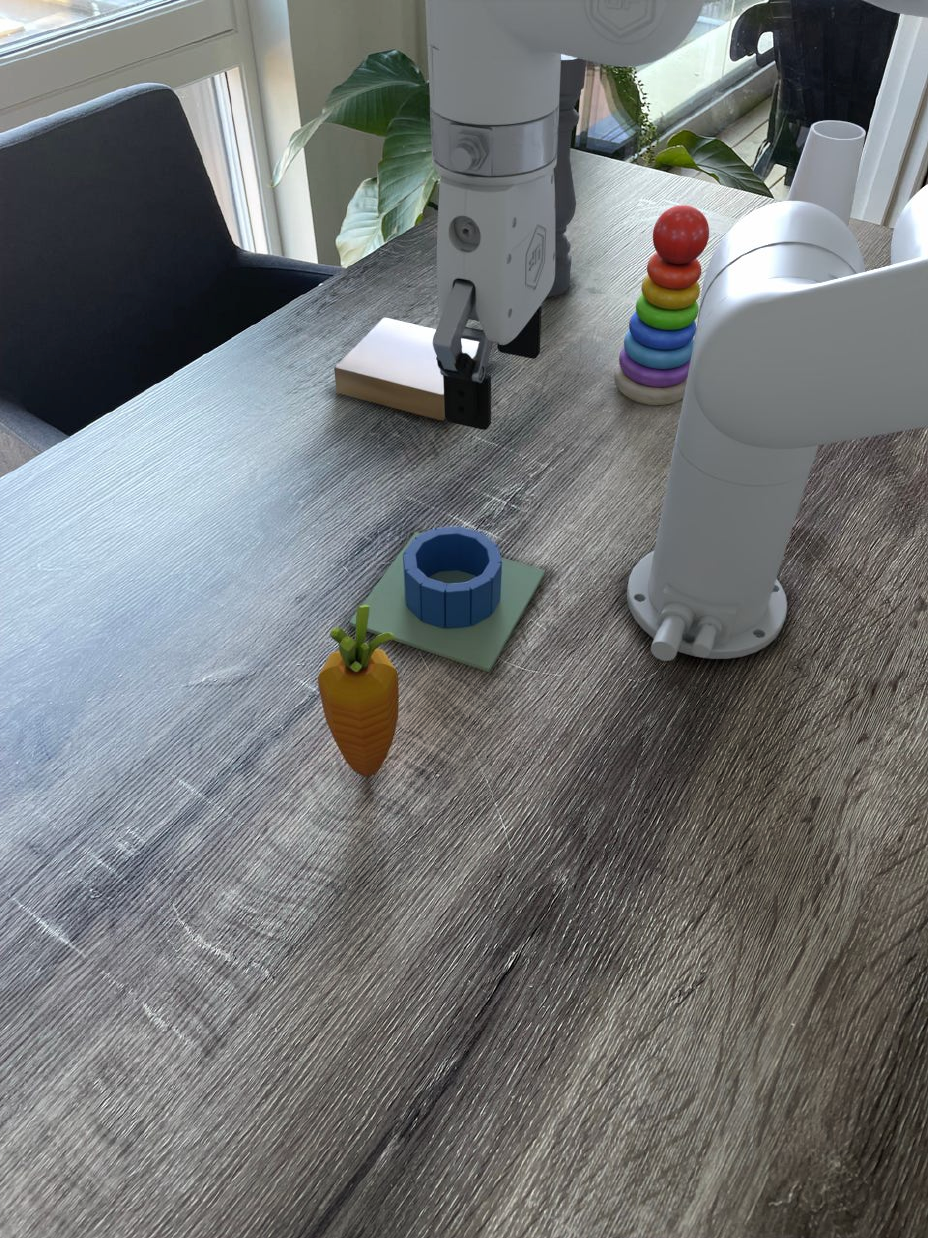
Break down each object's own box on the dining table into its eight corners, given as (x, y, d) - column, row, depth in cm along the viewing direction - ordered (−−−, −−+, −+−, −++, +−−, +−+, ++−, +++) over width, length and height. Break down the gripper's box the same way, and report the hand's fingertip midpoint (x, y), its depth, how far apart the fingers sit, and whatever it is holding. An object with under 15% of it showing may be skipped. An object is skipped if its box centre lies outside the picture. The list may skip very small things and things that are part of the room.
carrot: (366, 733, 71) (351, 581, 61) (418, 770, 69) (412, 618, 58) (316, 777, 69) (291, 626, 58) (369, 817, 66) (353, 667, 56)
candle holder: (508, 277, 119) (517, 45, 101) (553, 267, 121) (571, 38, 103) (532, 301, 115) (546, 64, 98) (579, 290, 117) (601, 55, 99)
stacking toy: (608, 402, 101) (631, 220, 88) (618, 361, 106) (642, 183, 93) (686, 413, 100) (723, 230, 86) (693, 371, 105) (728, 192, 92)
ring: (478, 639, 77) (478, 603, 74) (389, 612, 79) (387, 575, 76) (513, 577, 82) (515, 541, 79) (428, 553, 84) (428, 516, 81)
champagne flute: (781, 392, 102) (847, 150, 85) (730, 365, 106) (783, 127, 89) (821, 370, 105) (892, 131, 88) (770, 344, 109) (829, 110, 92)
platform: (443, 421, 98) (442, 395, 96) (336, 393, 102) (333, 367, 100) (486, 366, 106) (487, 341, 103) (385, 341, 109) (384, 316, 107)
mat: (489, 672, 75) (489, 669, 75) (349, 625, 79) (348, 622, 78) (545, 573, 83) (545, 570, 83) (415, 534, 86) (415, 531, 86)
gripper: (500, 202, 53) (499, 467, 65) (599, 96, 64) (582, 338, 76) (372, 183, 55) (394, 442, 67) (489, 83, 66) (490, 321, 78)
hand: (494, 387), depth 71 cm, fingers open, 9 cm apart
